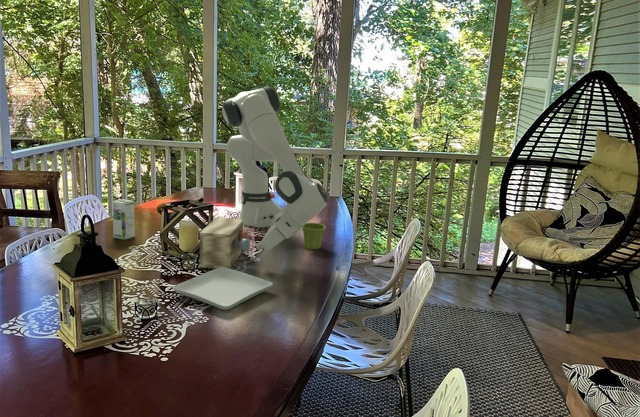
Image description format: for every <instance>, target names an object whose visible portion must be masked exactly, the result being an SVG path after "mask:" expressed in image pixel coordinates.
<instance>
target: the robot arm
mask: <svg viewBox="0 0 640 417" xmlns="http://www.w3.org/2000/svg"><path fill="white" fill-rule="evenodd" d="M221 107H222V108H221V109H222V110H221V111H222V117H223V119H224V120H225V122H226V123H227V124H228V125H229V126H230V127H233V128H234V127H237V129H238V132H239V134H236V135H232V136H231V137H229V139H228V141H227V142H226V143H227V144H226V150H227V153H228V155H229V157H230V158H232V159H233V160H234V161H235V162H236V163H237V165H238V166H239V168H240V172H241V176H242V190H241V198H240V199H241V200H240V201H241V208H240V215H239V218H238V219H243V226H249V227H255V228H267V227H269V228H268V230H267V232H266V233H265V234H264V236H263V238H262V239H261V241H259V242H258V243H257V245H256V249H257V250H258V251H261V250H262V249H264V250H265V251H266V252H268V251H271V250H272V249H273V248H275V247H276V246H277V245H279V244H280V243H281V242H283V241H284V240H286V239H289V238H291V237H292V236H294V235H295V234H296V233H298V231H300V230H301V229H303V228H302V227H303V226H304V225H305V223H308V221H311V220H312V219H314V218H315V217H316V216H318V214H319V213H320V212H321V211H322V210H323V209H324V208H325V207H326V206H327V204H328V203H329V197H328V193H327V192H326V190H325V188H324V187H323V186H322V185H321V184H320V183H319V182H314V180H312V179H311V178H310V177H308V176H307V175H306V174H305V172H304V170H303V168H302V166H301V165H300V163H299V161H298V160H299V159H297V157H296V155H295V153H294V151H293V150H292V149H293V148H292V147H291V145H290V143H289V141H288V139H287V136H286V134H285V132H284V129H283V127H282V124H281V121H280V119H279V117H278V115H277V113H278V112H279V111H280V109H281V97H280V95H279V94H278V91H276V89H275V88H273V87H272V86H263V87H261V88H257V89H253V90H248V91H247V90H245V91H241V92H239V93H237V95H236V96H234V97H232V98H228V99H226V100H225V101H224V102H223V103H222V105H221ZM257 161H258V162H266V163H267V162H269V163H271V162H277V163H278V164H279V165H280V168H281V170H282V171H283V172H281V173H280V174H279V175H278V176H277V178H276V179H275V182H274V189H275V192H276V194H277V196H279V197H280V198H281V199H282V200H284V202H286V206H285V207H284V208H282V207H281V206H280V205H278V204H277V203H276V202H275V201H274V200H272V199H275V198H276V194H275V193H271V192H270V191H268V189H269V176H268V174H267V172H266V171H265V170H263V169H262V168H260V167H259V166H258V165H257V163H256V162H257Z"/></svg>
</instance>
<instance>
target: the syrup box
mask: <svg viewBox="0 0 640 417" xmlns="http://www.w3.org/2000/svg"><path fill="white" fill-rule="evenodd" d="M112 222H113V226H112V227H113V238H114V239H118V240H123V241H125V240H129V239H133V238H135V237H136V233H135V232H136V228H135V227H136V224H135V200H128V199H122V198H121V199H116V200H113V201H112Z"/></svg>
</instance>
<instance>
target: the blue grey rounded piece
mask: <svg viewBox="0 0 640 417" xmlns="http://www.w3.org/2000/svg"><path fill="white" fill-rule="evenodd" d="M232 247H236V248H240V250H241V251H242V252H241V253H245V252H246V253H249V252H250V248H251V239H250V238H248V239H243V238H242V240H241V242H236V241H233V242H232Z"/></svg>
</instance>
